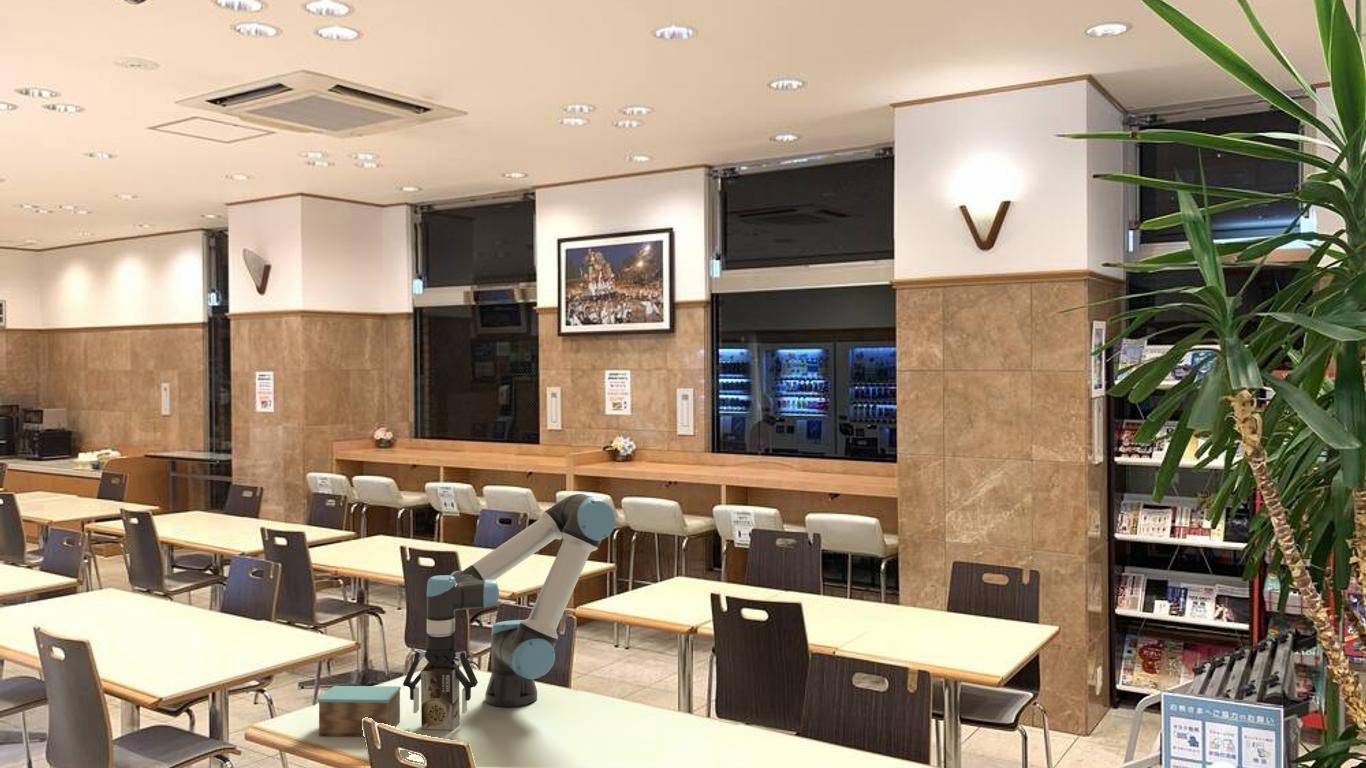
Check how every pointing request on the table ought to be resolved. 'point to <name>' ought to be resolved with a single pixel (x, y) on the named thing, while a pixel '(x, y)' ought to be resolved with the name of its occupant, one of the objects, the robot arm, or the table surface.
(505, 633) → the robot arm
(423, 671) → the coffee box
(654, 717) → the table surface
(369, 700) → the lid
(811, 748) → the table surface
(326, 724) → the box
